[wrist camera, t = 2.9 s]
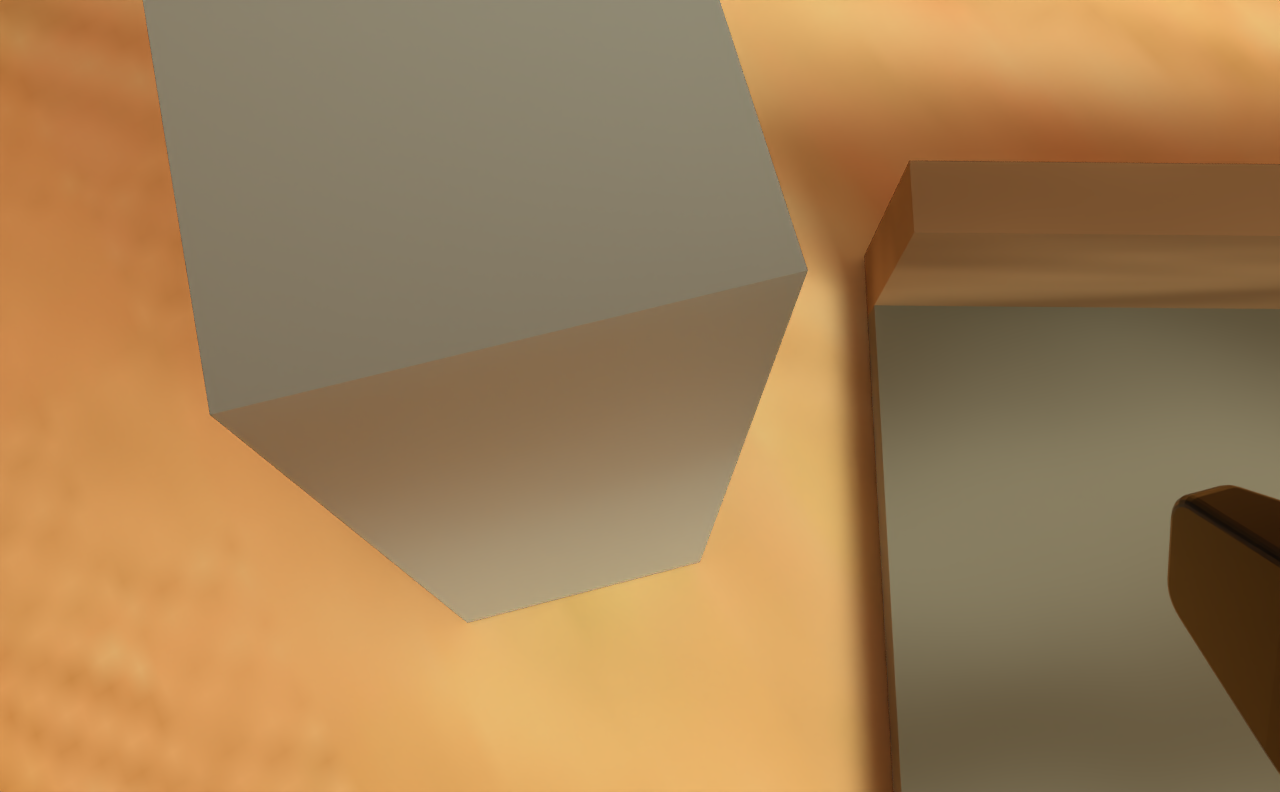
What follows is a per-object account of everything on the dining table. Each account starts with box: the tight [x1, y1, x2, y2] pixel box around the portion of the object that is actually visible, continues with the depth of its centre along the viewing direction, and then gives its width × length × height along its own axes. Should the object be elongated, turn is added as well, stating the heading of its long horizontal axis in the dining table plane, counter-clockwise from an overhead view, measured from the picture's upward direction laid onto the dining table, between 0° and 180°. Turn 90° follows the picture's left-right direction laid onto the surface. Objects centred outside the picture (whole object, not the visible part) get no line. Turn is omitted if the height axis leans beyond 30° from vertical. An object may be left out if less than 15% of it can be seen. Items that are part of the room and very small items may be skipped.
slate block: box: [143, 0, 808, 623], centre depth 14 cm, size 4×4×12 cm
